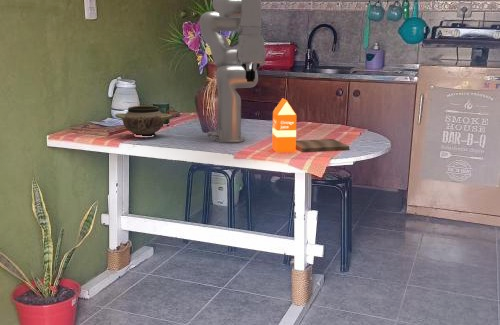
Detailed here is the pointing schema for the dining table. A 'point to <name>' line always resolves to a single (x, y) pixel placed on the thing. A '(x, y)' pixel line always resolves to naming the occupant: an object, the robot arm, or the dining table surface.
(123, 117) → the ceramic bowl
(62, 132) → the dining table surface
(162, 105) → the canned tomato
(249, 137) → the dining table surface
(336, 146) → the walnut board
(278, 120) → the orange juice
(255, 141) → the dining table surface
